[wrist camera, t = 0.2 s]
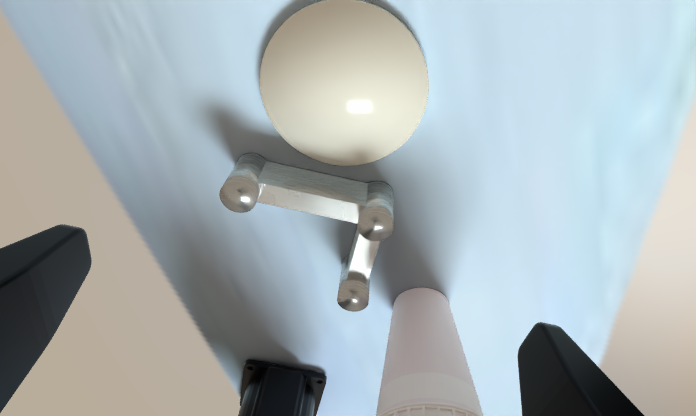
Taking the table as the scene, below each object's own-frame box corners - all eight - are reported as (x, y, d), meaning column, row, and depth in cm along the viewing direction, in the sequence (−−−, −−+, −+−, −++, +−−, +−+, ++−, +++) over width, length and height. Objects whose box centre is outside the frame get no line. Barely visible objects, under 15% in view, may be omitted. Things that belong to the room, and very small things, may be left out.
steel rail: (366, 278, 28) (364, 314, 26) (232, 249, 28) (216, 283, 25) (397, 184, 24) (397, 217, 21) (238, 149, 23) (220, 178, 21)
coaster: (401, 176, 23) (401, 180, 23) (255, 143, 23) (253, 147, 23) (452, 22, 19) (453, 23, 18) (270, -22, 18) (268, -21, 18)
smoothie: (353, 301, 29) (329, 555, 18) (430, 256, 26) (458, 523, 15) (413, 349, 32) (425, 600, 20) (489, 312, 29) (553, 580, 17)
